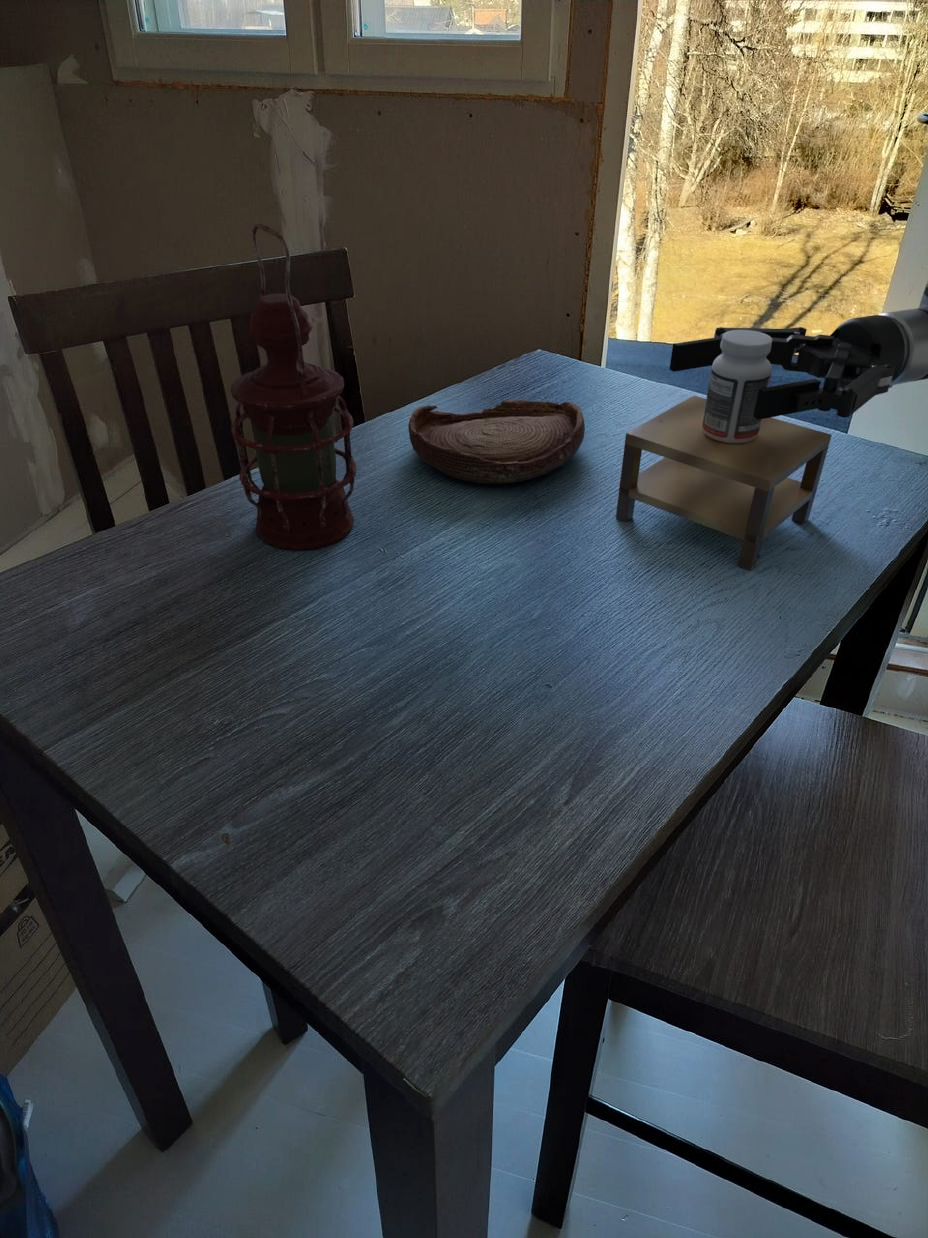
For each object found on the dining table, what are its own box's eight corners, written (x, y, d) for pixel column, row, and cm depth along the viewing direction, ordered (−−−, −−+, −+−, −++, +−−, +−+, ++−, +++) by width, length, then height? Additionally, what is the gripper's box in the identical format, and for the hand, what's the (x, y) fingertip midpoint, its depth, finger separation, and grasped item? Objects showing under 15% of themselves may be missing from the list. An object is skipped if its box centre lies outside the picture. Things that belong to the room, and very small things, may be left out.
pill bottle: (754, 424, 90) (775, 329, 84) (760, 447, 85) (782, 348, 79) (699, 420, 90) (715, 326, 84) (701, 442, 86) (719, 344, 80)
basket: (526, 408, 118) (528, 373, 116) (620, 462, 105) (625, 425, 102) (382, 444, 109) (380, 407, 106) (465, 509, 95) (465, 469, 92)
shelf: (808, 519, 94) (832, 434, 88) (749, 570, 85) (771, 480, 79) (680, 475, 102) (693, 395, 96) (615, 518, 94) (625, 432, 88)
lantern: (381, 533, 91) (362, 231, 73) (275, 568, 85) (226, 249, 68) (330, 489, 99) (302, 207, 81) (230, 517, 93) (176, 222, 76)
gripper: (964, 429, 83) (791, 467, 76) (790, 350, 101) (638, 375, 94) (993, 352, 78) (811, 385, 72) (806, 284, 97) (647, 305, 90)
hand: (712, 379), depth 83 cm, fingers open, 13 cm apart
